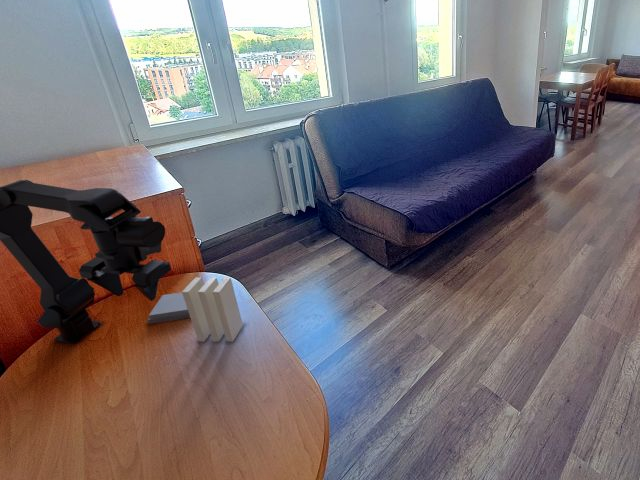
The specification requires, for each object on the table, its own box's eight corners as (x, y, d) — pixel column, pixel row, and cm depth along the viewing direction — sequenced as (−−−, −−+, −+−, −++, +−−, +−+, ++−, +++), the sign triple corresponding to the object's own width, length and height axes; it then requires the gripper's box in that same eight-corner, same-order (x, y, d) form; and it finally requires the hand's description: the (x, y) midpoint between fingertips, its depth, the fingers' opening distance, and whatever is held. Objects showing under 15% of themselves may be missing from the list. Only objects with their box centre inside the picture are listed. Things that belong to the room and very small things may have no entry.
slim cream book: (198, 341, 84) (181, 291, 78) (210, 325, 89) (195, 277, 83) (204, 341, 84) (188, 291, 78) (216, 325, 89) (202, 277, 83)
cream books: (212, 341, 84) (197, 291, 78) (224, 325, 89) (210, 277, 83) (232, 341, 84) (219, 292, 78) (243, 325, 89) (230, 277, 83)
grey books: (148, 324, 89) (145, 316, 88) (163, 302, 96) (160, 295, 95) (194, 316, 91) (192, 309, 90) (205, 295, 99) (203, 289, 98)
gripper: (181, 227, 81) (197, 278, 87) (116, 221, 84) (136, 271, 90) (137, 256, 71) (158, 312, 77) (65, 247, 74) (91, 302, 79)
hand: (136, 297), depth 81 cm, fingers open, 9 cm apart
